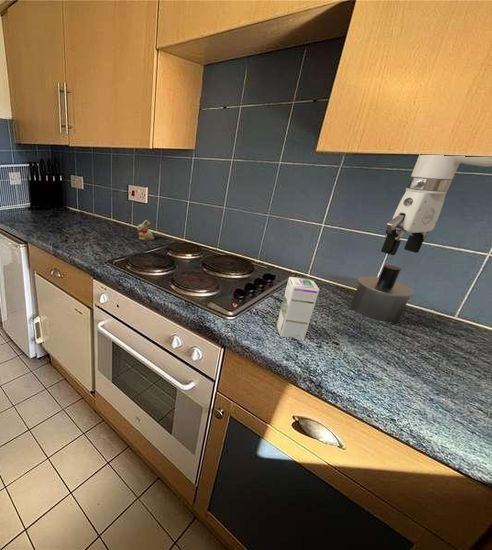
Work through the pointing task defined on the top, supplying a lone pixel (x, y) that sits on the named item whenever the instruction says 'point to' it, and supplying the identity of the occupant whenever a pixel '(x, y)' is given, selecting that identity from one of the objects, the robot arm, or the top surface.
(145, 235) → the chocolate bunny
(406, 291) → the canister lid
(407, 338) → the top surface
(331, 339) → the top surface
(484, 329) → the top surface
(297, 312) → the syrup box
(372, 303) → the canister
